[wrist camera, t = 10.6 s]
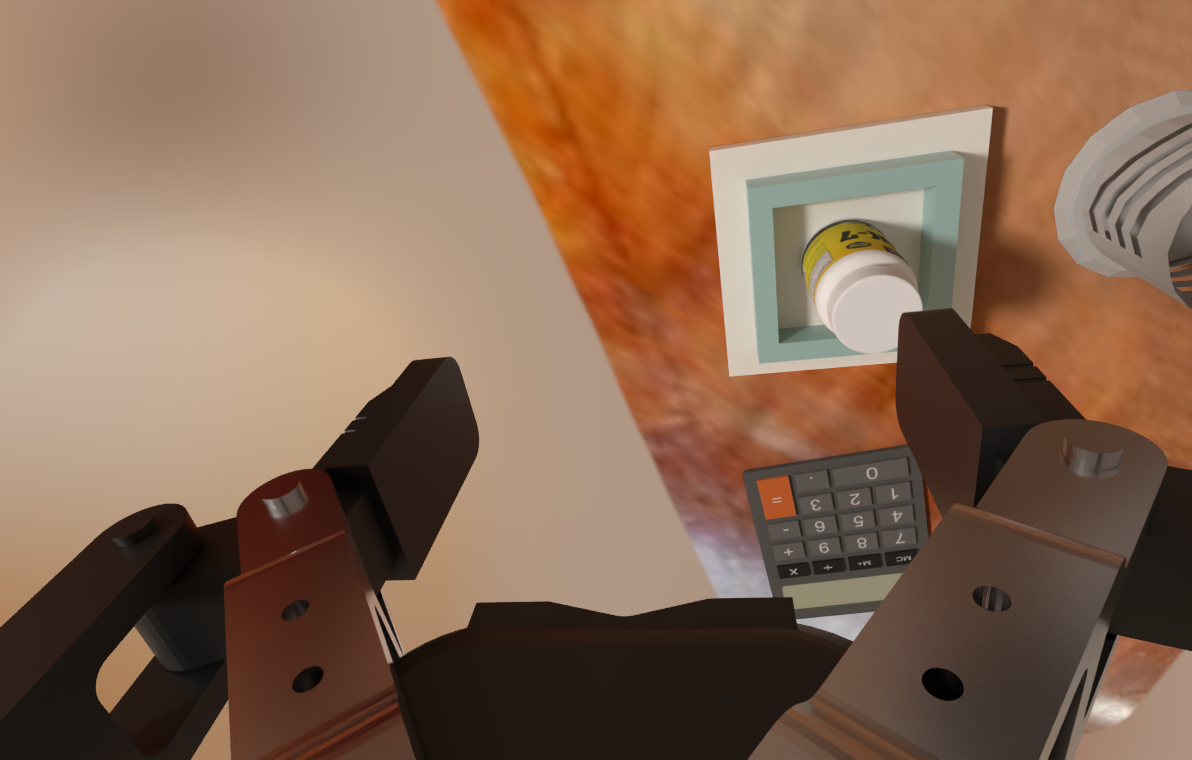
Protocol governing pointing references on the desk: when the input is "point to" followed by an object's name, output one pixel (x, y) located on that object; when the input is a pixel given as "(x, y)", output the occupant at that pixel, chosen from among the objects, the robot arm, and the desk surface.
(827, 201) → the dock socket
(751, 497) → the calculator
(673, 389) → the desk surface
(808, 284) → the supplement bottle
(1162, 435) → the desk surface
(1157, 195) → the french press
